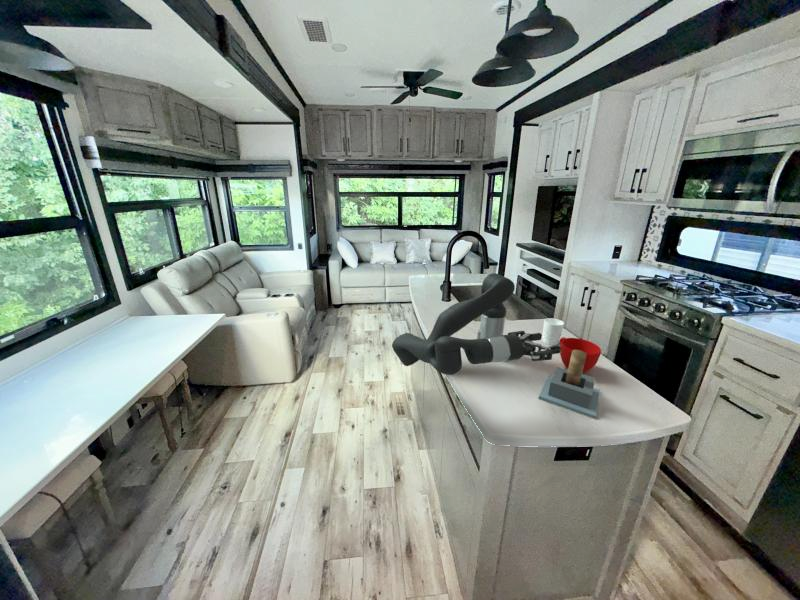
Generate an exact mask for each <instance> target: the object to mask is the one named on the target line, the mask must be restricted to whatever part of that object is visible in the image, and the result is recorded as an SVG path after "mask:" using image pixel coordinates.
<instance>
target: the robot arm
mask: <svg viewBox="0 0 800 600" xmlns="http://www.w3.org/2000/svg"><path fill="white" fill-rule="evenodd" d="M515 289H516V287H515V283H514V282H513V280H511V279H510V278H508V277H506V276H503V275H502V274H499V273H495V272H494V273H489V274H488V275H486V276H485V278H484V279H483V281H482V284H481V291H480V293H481V294H479V295H478V296H475V297H473V298H470V299H466V300H465V299H464V300H462V301H458V302H456V303H454V304H452V305H451V306H449V307H448V308H446V309H444V310H443V311H442V312H441V313H440V314H439V315H438V316H437V318H436V321H435V323H434V325H433V328H432V330H431V332H430V334H429V336H428V338H426V339H424V338H421V337H419V336H417V335H414V334H412V333H411V332H405V333H402V334H400V335H399V336H397V337H396V338H395V339H394V340H393V342H392V343H391V347H392V350H393V352H394V353H395V355H396V356H397V357H398V359H399V361H400V362H401V363H402V364H403V365H404V366H405V367H409V366H412V365H414V364H415V363H417V362H419V361H421V362H424V363H426V364H430V366H432V367H433V368H434V369H435V370H436V371H437V372H438V373H441V374H443V375H448V376H453V375H456V374H458V373H459V372H460V371H461V369H462V367H463V361H462V352H461V349H462V350H463V351H464V353H465V357H466V359H467V361H468V363H470V364H471V365H481V364H482V365H483V364H488V363H502V362H503V363H504V362H509V361H518V360H520V359H521V358H522V357H523V356H529V357H531V361H532V362H542V361H543V362H544V361H552V359H553V355H555V354H557V355H558V354H560V351H561V346H560V344H559V345H549V346H545V345H542V344H541V343H537V342H536V343H535V342H534V341H542V336H543V333H541V332H535V333H529V332H525V331H524V330H518V331H512V332H507V334H504V329H505V322H506V316H507V308H506V307H505V305H504V302H506V301H508V299H510V298H511V297H512V296H513V294H514V292H515ZM479 317H480V325H479V329H478V331H477V336H476V339H475V338H474V339H471V338H470V339H469V338H468V339H467V338H460V337H459V338H458V337H455V336H453V335H454V334H456V333H458V332H459V331H460V330H462V329H464V327H466V326H468V325H469V324H470V323H471V322H472V321H474V320H476V319H478V318H479ZM536 349H537V350H536Z"/></svg>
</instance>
